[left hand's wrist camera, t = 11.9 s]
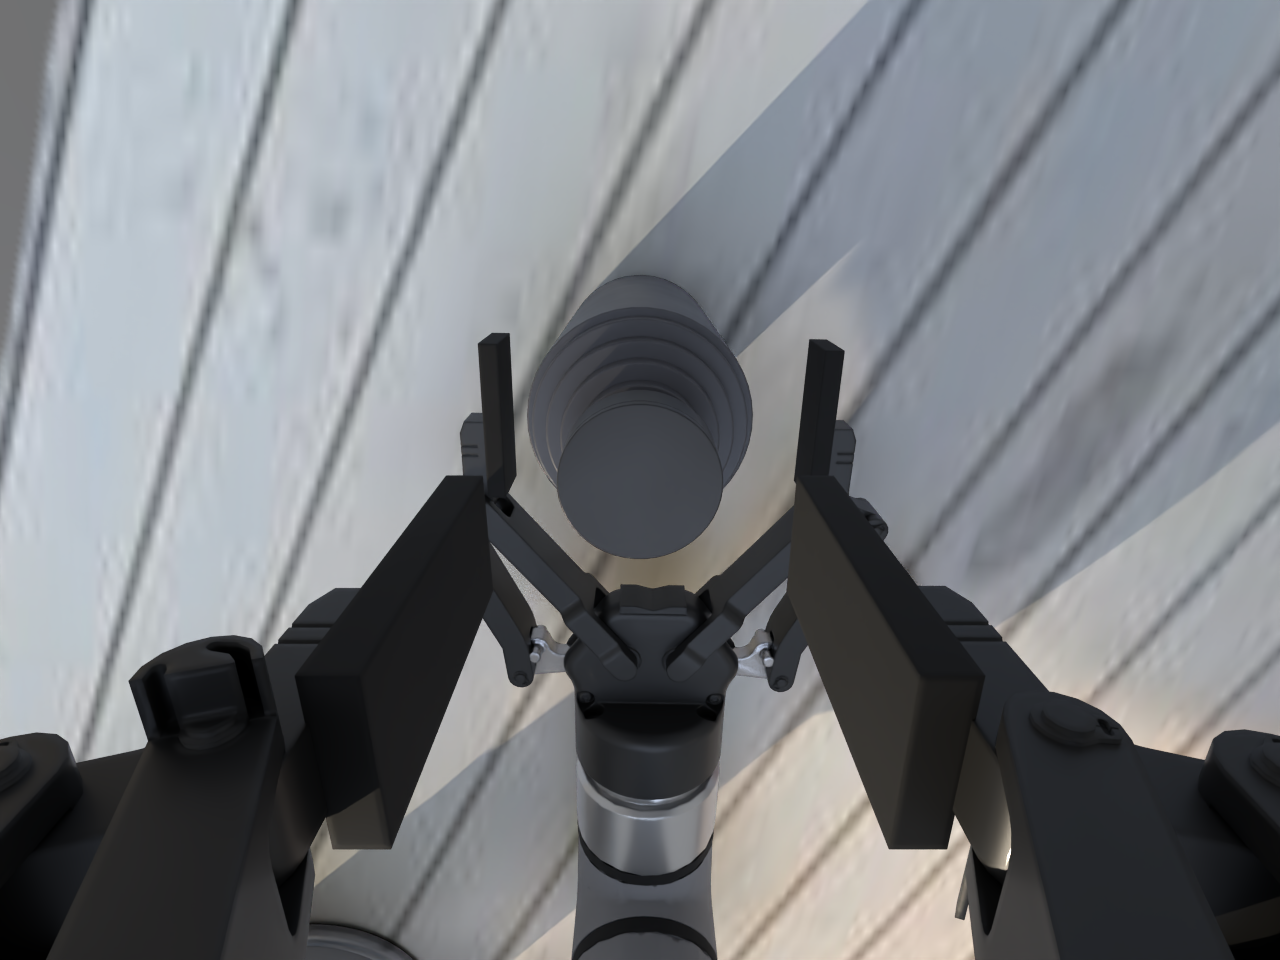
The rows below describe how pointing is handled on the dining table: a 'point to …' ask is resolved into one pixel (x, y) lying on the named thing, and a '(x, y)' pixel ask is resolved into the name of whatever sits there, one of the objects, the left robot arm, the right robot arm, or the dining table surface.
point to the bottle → (639, 367)
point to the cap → (639, 475)
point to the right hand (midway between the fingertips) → (660, 340)
